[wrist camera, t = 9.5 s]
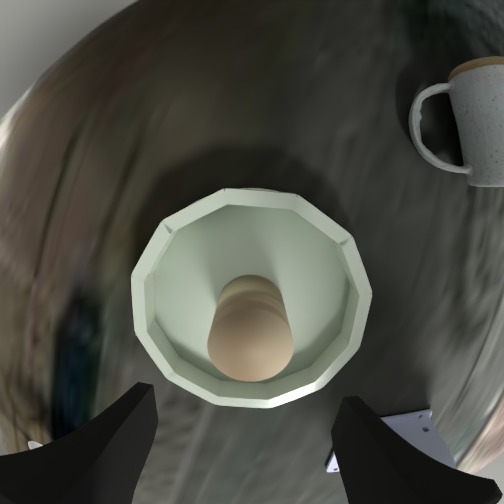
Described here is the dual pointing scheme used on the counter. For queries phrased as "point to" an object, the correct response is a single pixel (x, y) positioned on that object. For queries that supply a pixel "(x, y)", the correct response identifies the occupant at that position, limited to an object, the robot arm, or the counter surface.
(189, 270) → the round tray
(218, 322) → the maple cylinder
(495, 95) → the ceramic mug
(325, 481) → the counter surface
